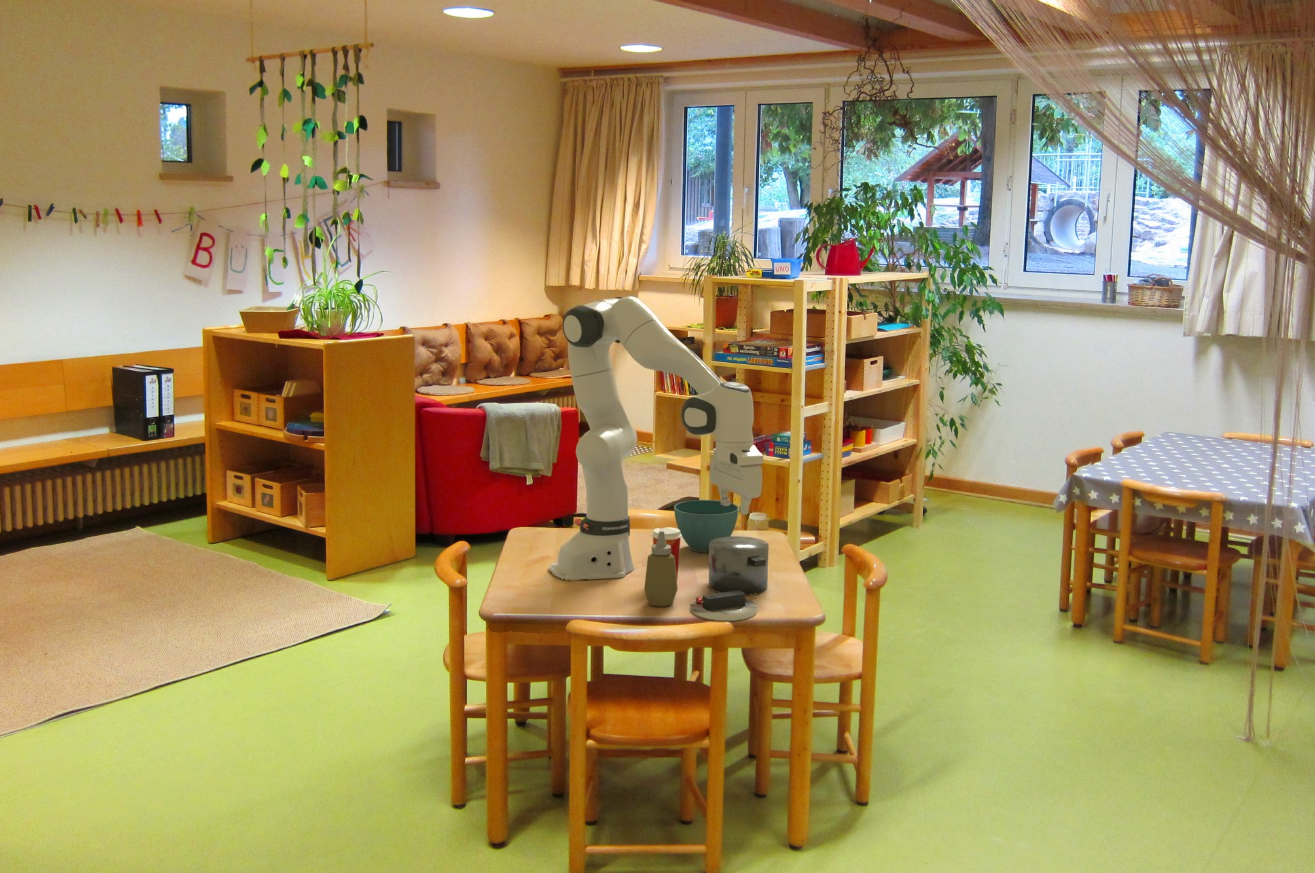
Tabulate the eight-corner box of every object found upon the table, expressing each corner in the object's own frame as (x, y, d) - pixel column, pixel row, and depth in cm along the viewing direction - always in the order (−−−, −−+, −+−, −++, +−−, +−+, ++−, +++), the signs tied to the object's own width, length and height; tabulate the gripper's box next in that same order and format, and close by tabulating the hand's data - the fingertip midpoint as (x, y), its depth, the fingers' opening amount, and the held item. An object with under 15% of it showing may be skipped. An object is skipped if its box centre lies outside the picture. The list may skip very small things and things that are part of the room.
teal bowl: (660, 547, 330) (660, 505, 328) (705, 536, 342) (706, 496, 340) (705, 561, 317) (705, 518, 315) (750, 549, 329) (751, 507, 327)
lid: (709, 626, 267) (709, 608, 266) (679, 605, 281) (679, 588, 281) (769, 617, 274) (770, 600, 273) (737, 597, 288) (737, 581, 287)
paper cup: (646, 580, 299) (646, 528, 297) (673, 577, 302) (674, 525, 300) (658, 589, 292) (659, 535, 290) (686, 586, 295) (687, 532, 293)
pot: (732, 602, 283) (733, 558, 281) (692, 577, 302) (693, 536, 300) (785, 594, 289) (786, 552, 287) (743, 570, 309) (744, 530, 307)
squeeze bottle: (652, 610, 276) (652, 537, 273) (638, 600, 283) (639, 529, 280) (682, 606, 279) (683, 534, 276) (669, 596, 287) (670, 526, 283)
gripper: (703, 446, 279) (703, 502, 282) (742, 460, 261) (742, 519, 263) (726, 444, 282) (726, 499, 284) (767, 457, 263) (766, 517, 266)
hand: (734, 509), depth 273 cm, fingers open, 8 cm apart
